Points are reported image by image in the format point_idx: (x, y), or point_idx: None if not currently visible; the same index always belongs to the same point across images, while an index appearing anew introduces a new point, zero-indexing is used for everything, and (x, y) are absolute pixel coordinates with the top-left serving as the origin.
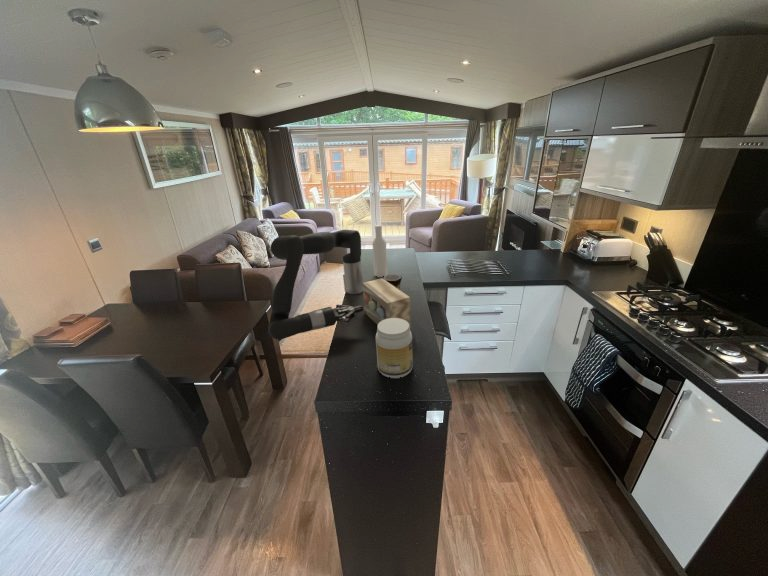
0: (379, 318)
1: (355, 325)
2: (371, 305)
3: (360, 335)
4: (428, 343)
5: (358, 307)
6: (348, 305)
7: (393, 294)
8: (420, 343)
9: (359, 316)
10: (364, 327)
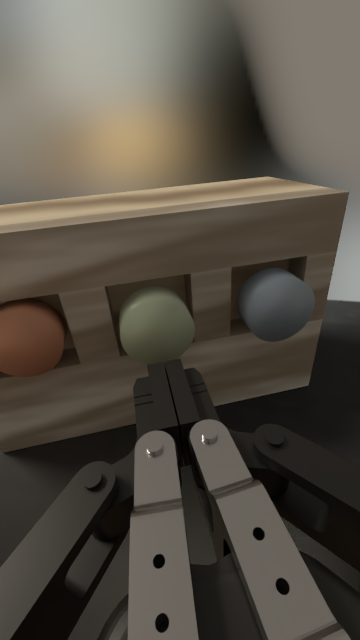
0: (288, 336)
1: (128, 552)
2: (176, 316)
3: (291, 536)
4: (349, 304)
5: (187, 383)
6: (92, 475)
7: (220, 190)
8: (353, 317)
9: (21, 495)
10: (184, 486)
